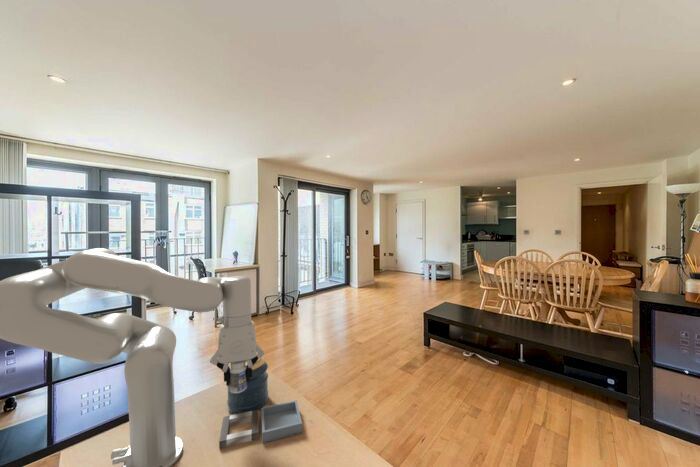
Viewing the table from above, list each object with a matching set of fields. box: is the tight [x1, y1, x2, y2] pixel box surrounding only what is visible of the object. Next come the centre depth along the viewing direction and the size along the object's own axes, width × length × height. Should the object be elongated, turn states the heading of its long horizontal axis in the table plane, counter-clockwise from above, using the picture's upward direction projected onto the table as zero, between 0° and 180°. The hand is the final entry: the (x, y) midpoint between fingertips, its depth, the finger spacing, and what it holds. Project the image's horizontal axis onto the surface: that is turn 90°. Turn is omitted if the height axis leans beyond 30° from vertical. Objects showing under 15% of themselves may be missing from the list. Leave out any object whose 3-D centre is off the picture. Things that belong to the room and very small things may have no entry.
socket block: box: [218, 410, 259, 449], centre depth 80 cm, size 10×10×2 cm
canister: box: [226, 352, 269, 415], centre depth 92 cm, size 13×13×18 cm
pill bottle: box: [229, 361, 247, 393], centre depth 80 cm, size 5×5×8 cm
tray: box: [260, 399, 303, 444], centre depth 83 cm, size 11×11×3 cm
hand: (238, 380), depth 80 cm, fingers closed on pill bottle, 4 cm apart
